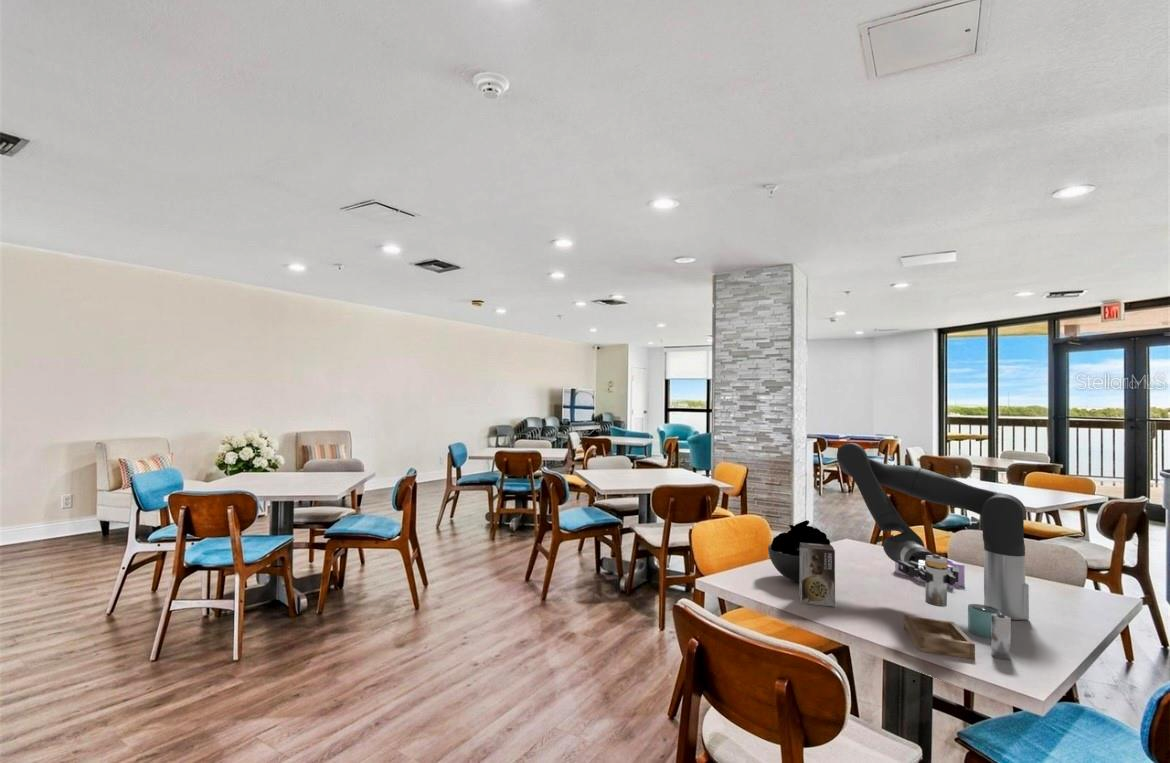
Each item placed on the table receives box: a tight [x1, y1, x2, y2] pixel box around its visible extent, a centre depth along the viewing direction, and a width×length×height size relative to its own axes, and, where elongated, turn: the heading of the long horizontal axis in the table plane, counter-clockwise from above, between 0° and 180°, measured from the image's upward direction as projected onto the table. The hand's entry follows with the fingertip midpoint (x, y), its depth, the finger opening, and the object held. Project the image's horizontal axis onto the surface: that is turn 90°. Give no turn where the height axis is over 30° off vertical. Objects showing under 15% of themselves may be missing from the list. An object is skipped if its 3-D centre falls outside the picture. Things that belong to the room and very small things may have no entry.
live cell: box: [924, 553, 948, 608], centre depth 133 cm, size 4×4×12 cm
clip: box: [894, 558, 966, 590], centre depth 186 cm, size 20×12×7 cm, turn 28°
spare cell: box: [990, 613, 1012, 661], centre depth 126 cm, size 4×4×10 cm
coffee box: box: [798, 543, 836, 608], centre depth 159 cm, size 9×6×16 cm
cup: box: [967, 603, 1002, 639], centre depth 140 cm, size 7×7×6 cm
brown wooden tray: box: [903, 615, 976, 660], centre depth 132 cm, size 11×14×3 cm
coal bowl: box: [767, 519, 831, 583], centre depth 178 cm, size 20×20×19 cm
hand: (940, 579), depth 130 cm, fingers closed on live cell, 4 cm apart
